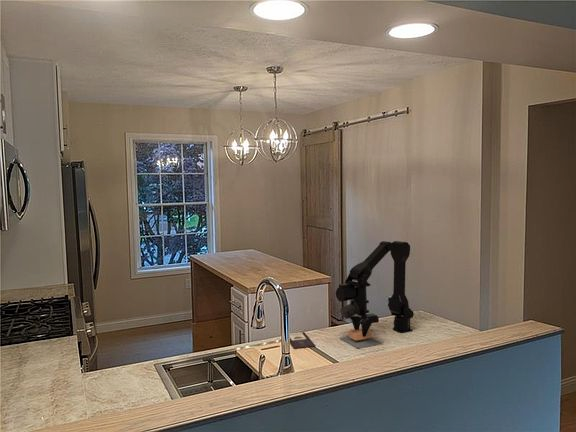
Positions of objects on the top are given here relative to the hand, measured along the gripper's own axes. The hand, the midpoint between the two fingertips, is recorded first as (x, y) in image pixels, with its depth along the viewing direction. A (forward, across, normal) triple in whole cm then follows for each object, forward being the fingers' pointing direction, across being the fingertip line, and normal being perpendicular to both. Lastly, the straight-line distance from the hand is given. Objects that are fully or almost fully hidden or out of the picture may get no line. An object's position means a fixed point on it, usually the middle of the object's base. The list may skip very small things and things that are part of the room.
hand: (360, 334), depth 187 cm
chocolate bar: (+3, -13, -22) cm, 26 cm away
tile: (+1, 0, 0) cm, 1 cm away
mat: (+3, 0, 0) cm, 3 cm away
